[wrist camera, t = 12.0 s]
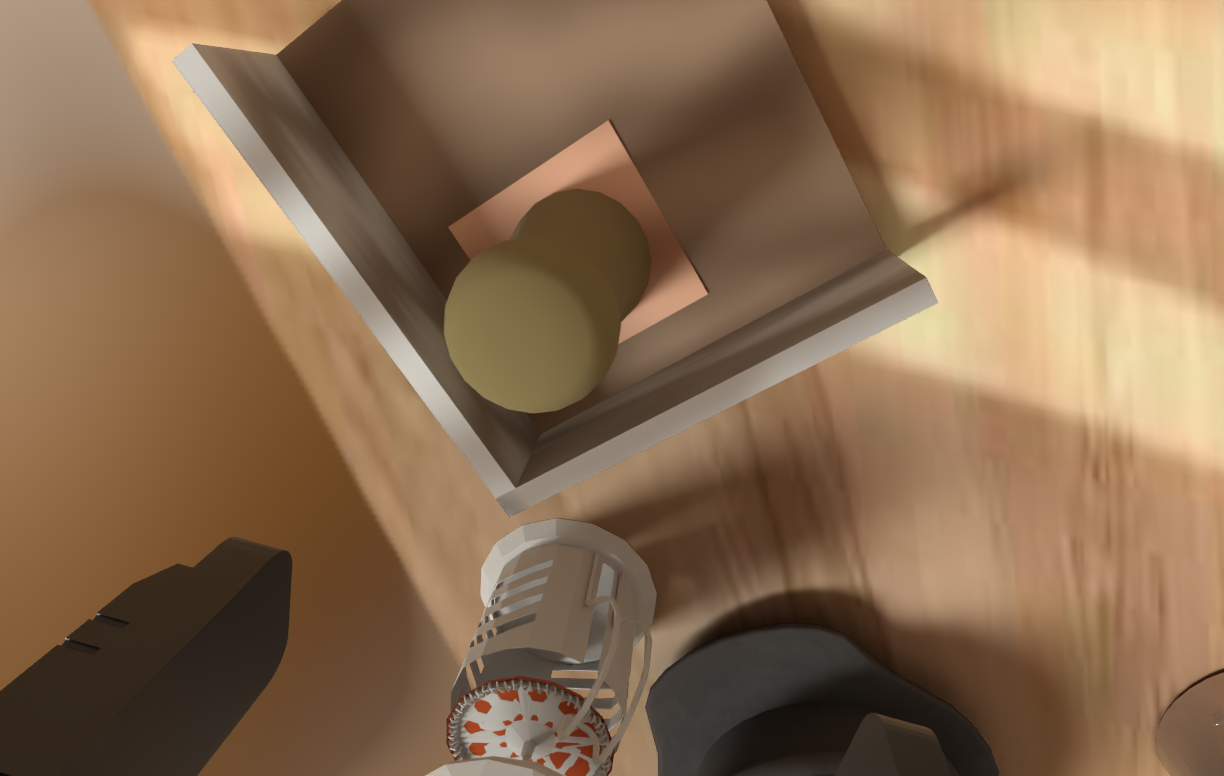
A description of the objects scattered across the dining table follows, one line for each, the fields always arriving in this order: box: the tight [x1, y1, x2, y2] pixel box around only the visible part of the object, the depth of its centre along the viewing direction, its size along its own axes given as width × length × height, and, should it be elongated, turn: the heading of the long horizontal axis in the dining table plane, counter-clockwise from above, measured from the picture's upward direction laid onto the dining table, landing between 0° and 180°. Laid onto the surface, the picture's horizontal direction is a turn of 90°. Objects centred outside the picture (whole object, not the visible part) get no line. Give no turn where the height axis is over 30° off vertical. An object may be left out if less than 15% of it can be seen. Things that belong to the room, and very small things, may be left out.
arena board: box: [172, 0, 938, 517], centre depth 26 cm, size 20×18×6 cm
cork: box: [444, 189, 651, 413], centre depth 24 cm, size 6×6×11 cm
